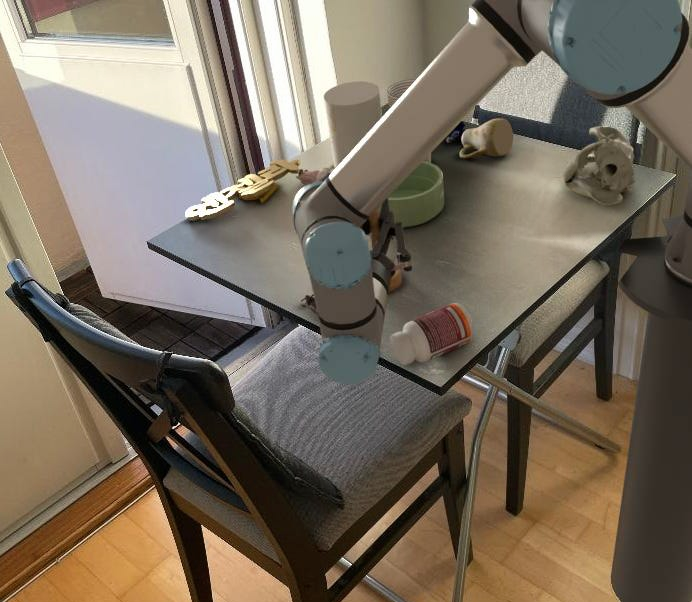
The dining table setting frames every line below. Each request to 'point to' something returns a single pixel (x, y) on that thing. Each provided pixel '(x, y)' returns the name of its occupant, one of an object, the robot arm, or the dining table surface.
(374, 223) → the wooden peg stand
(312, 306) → the beetle
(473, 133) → the mug
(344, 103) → the white cylinder
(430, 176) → the bowl
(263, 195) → the logo
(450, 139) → the spaceship
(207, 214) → the lettering
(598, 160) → the animal skull
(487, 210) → the dining table surface
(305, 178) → the figurine
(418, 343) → the pill bottle
